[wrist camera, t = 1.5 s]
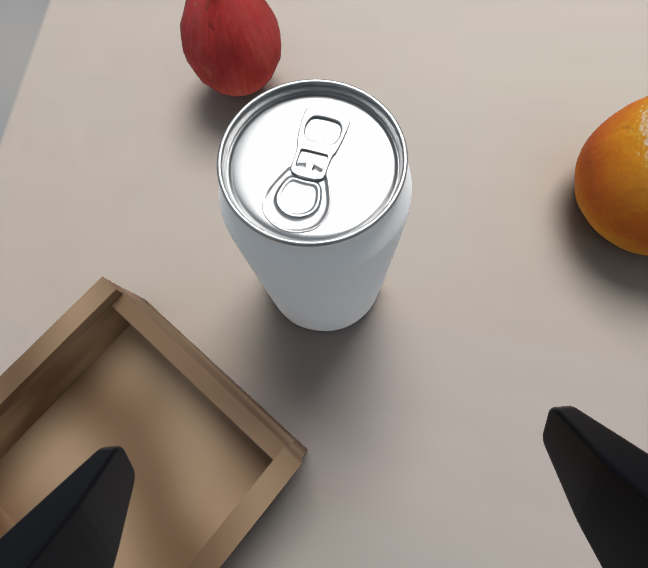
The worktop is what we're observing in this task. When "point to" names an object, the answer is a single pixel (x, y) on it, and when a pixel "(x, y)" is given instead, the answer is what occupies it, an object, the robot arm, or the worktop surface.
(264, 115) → the can
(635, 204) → the fruit
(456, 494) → the worktop surface
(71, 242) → the worktop surface
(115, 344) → the tray
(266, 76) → the onion
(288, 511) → the worktop surface
